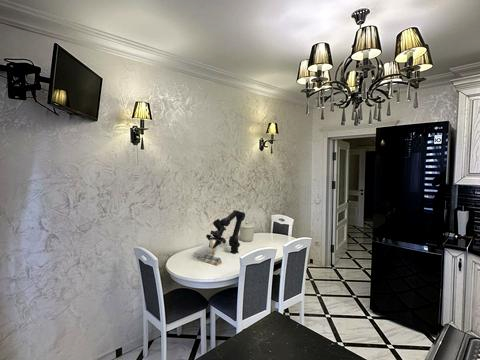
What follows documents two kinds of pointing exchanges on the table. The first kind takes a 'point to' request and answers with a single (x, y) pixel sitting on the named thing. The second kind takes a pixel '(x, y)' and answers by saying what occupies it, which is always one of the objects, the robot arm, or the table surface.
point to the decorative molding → (202, 250)
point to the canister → (247, 231)
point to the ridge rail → (212, 260)
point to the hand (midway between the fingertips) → (211, 247)
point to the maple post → (212, 250)
